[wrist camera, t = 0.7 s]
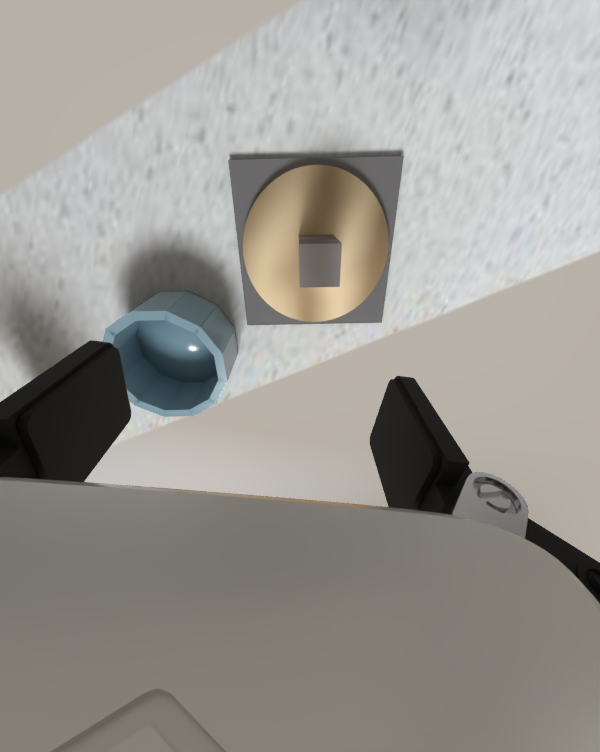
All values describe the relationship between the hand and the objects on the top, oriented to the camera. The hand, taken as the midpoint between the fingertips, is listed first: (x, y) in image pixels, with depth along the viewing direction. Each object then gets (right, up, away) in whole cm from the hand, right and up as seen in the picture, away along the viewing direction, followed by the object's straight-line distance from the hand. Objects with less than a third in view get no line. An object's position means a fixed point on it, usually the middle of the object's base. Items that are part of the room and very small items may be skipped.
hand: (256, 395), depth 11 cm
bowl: (-11, +4, +22) cm, 25 cm away
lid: (+3, +12, +17) cm, 21 cm away
